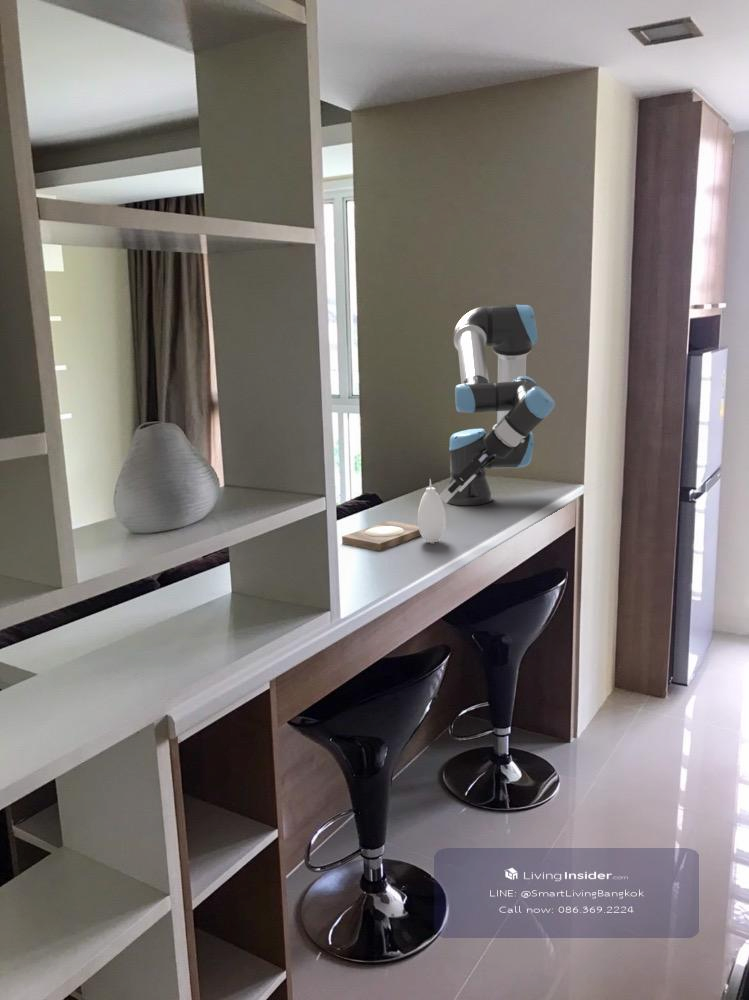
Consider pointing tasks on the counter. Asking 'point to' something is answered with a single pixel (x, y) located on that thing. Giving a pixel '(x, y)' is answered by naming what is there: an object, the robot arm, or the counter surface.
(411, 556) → the counter surface
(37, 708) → the counter surface
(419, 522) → the white pear with stem
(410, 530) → the walnut board
